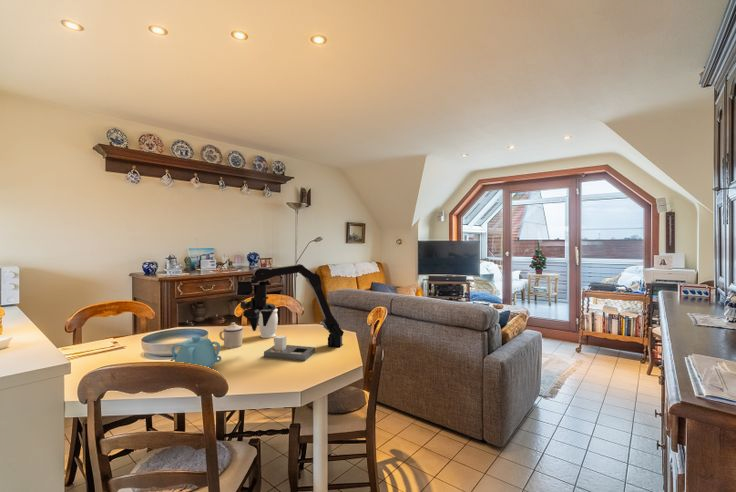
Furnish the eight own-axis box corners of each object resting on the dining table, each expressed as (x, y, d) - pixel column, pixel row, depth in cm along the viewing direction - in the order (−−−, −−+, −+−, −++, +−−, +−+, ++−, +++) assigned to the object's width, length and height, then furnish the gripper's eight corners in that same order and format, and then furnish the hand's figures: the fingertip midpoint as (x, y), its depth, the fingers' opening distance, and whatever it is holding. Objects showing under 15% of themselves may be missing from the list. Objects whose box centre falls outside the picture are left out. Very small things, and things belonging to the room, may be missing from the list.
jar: (274, 339, 186) (274, 311, 186) (255, 338, 186) (255, 311, 186) (279, 333, 197) (280, 307, 196) (262, 333, 197) (262, 307, 197)
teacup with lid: (245, 343, 177) (246, 321, 177) (236, 349, 169) (236, 325, 168) (224, 342, 179) (224, 320, 179) (214, 347, 170) (214, 324, 170)
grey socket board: (315, 353, 163) (315, 347, 163) (305, 362, 151) (305, 355, 151) (276, 350, 167) (276, 343, 167) (263, 358, 156) (263, 351, 156)
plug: (286, 352, 162) (286, 336, 162) (282, 355, 158) (282, 338, 158) (277, 352, 163) (277, 335, 163) (272, 354, 159) (273, 337, 159)
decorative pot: (224, 369, 142) (225, 336, 142) (183, 380, 130) (184, 345, 130) (206, 360, 153) (207, 329, 153) (167, 370, 141) (167, 337, 140)
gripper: (255, 291, 170) (254, 322, 170) (232, 297, 152) (232, 332, 152) (275, 292, 168) (275, 324, 168) (255, 298, 149) (254, 334, 149)
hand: (259, 328), depth 159 cm, fingers open, 9 cm apart
